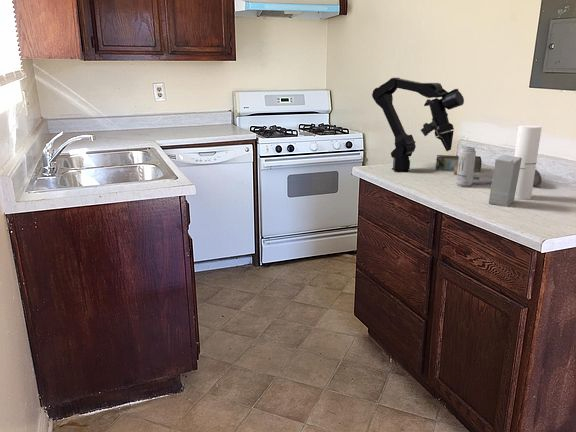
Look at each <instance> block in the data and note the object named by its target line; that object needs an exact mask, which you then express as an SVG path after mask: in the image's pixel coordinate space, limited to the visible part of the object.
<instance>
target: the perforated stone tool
mask: <svg viewBox="0 0 576 432" xmlns="http://www.w3.org/2000/svg"><path fill="white" fill-rule="evenodd" d="M541 184H542V176H541V174H540V172H539V171H538V170H537V169H536V168H535V175H534V182H533V188H534V187H540V186H541Z"/></svg>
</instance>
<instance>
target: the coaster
mask: <svg viewBox="0 0 576 432" xmlns="http://www.w3.org/2000/svg"><path fill="white" fill-rule="evenodd" d="M472 185H478V186H479V185H480V186H481V185H482V186H484V185H485V186H486V185H492V179H491V178H487V177H481V176H473V183H472Z"/></svg>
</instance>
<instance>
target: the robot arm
mask: <svg viewBox="0 0 576 432" xmlns="http://www.w3.org/2000/svg"><path fill="white" fill-rule="evenodd" d="M398 89H400V90H406V91H411V92H415V93H417V94H419V95H421V96H423V97H425V98H427V99H426V100H425V103H424V104H423V106H424V107H429V109H430V113H431V117H432V119H431V122H430V123H428V122H425V123H424V124H423V125H422V127H423V128H421V129H420V132H421V133H422V134H423V136H424V137H426V136H428V135H429V134H430V133H431V132H433V131H434V132H433V133H434V137H435V139H437V140H440V141H441V144H442V145H443V147H444V149H445V152H450V151H451V150H452V145H453V137H454V131H455V128H454V124H452V123H450V121H449V117H448V116H449V114H448V112H447V110H448V111H449V110H452V109H455V108H457V107H462V106H463V105H464V103H465V99H464V96H463V94H462V93H461V92H460V91H459V88H454V89H453V90H451V91H448V90H446V89H444V88H443V86H442V84H441V83H439V82H419V81H414V80H410V79H409V80H408V79H404V78H400V77H391V78H390V79H389V80H387V81H385V83H383V84H381V85H379V86H378V87H375V88H374V89H373V91H372V93H371V97H372V99H373V100H374V102H375V104H376V105H378V107H380V108H381V109H382V112H383V114H384V117H385V118H386V120H387V122H388V125H389V128H390V129H391V132H392V134H393V137H394V147H395V148H394V149H393V150H392V151H391V152H390V156H391V158H392V160H393V161H392V167H391V170H392V171H394V173H404V172H410V171H411V170H410V169H411V168H410V167H411V160H410V157H412V154H413V153H414V152H415V150H416V148H417V147H416V140H414V136H413V135H412V134H407V133H406V131H405V128H404V127H403V125H402V121H401V120H400V118H399V115H398V113H397V112H396V109H395V107H394V104H393V101H394V97H393V94H394V93H396V91H397V90H398ZM433 98H434V99H433ZM439 98H440V99H439Z"/></svg>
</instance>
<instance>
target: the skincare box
mask: <svg viewBox="0 0 576 432" xmlns="http://www.w3.org/2000/svg"><path fill="white" fill-rule="evenodd" d="M514 156H515V155H509V154H508V155H507V154H502V155H501V156H499V157H497V158H495V162H494V167H493V174H492V178H491V180H492V183H491V184H490V185H491V188H490V192H489V198H488V204H491V205H496V206H500V205H502V206H501V207H506V206H507V207H508V206H510V205H511V204H512V203H513V202H514V201H515V199H514V197H515V192H516V187H517V181H518V176H519V171H520V166H521V160H522V158H521V157H514Z"/></svg>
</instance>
